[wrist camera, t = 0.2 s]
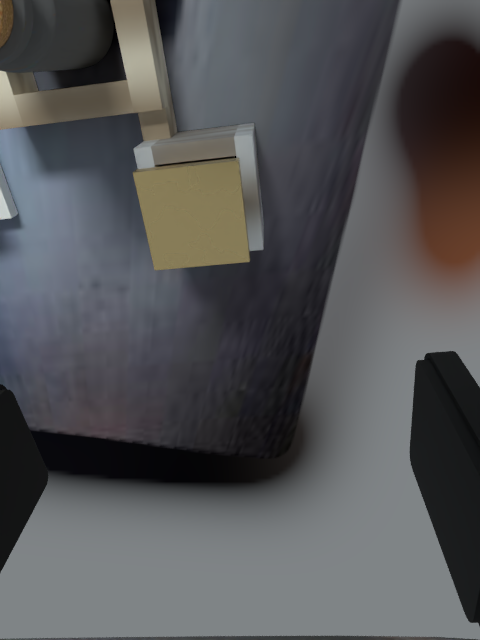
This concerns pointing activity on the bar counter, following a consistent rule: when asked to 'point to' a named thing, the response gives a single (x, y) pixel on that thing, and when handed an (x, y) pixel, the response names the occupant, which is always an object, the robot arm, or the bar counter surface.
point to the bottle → (53, 34)
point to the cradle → (6, 199)
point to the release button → (194, 213)
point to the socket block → (139, 109)
